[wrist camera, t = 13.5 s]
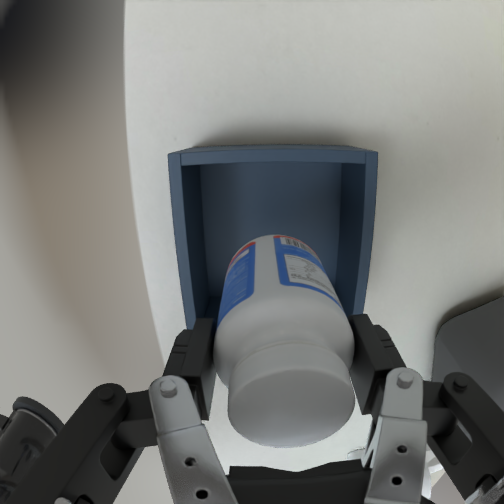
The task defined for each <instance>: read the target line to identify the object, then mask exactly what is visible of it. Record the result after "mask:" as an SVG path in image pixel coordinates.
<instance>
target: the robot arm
mask: <svg viewBox="0 0 504 504" xmlns="http://www.w3.org/2000/svg"><path fill="white" fill-rule="evenodd" d="M348 322H349V324H350V327H351V329H352V332H353V336H354V342H355V351H354V357H353V361H352V365H351V367H350V369H349V374H350V377H351V381H352V384H353V387H354V390H355V393H356V397H357V400H358V403H359V406H360V410H361V413H362V415H366V414H372V418H373V420H372V422H371V425H370V430H369V434H368V438H367V443H366V447H365V451H364V455H363V459H362V461H361V459H354V460H347V461H339V462H330V463H327V464H324V465H321V466H317V467H314V468H311V469H307V470H304V471H300V472H292V471H285V470H279V469H274V468H268V467H263V466H230V470H229V474H228V475H225V473H224V471H223V468H222V466H221V464H220V461H219V459H218V457H217V454H216V452H215V449H214V447H213V444H212V442H211V439H210V437H209V434H208V432H207V429H206V427H205V425H204V424H202V421H201V420H208V421H209V416H210V409H211V403H212V397H213V390H214V384H215V378H216V372H217V371H216V368H215V365H214V359H213V347H214V338H215V333H216V322H215V318H196V321H195V324H194V327H193V330H190V329H184V330H183V331H182V332H181V333H180V334H179V335H178V336H177V337H176V339H175V342H174V346H173V348H172V350H171V353H170V356H169V359H168V362H167V364H166V367H165V370H164V373H163V376H162V377H160V378H158V379H156V380H155V381H153V382H152V383H151V385H150V387H149V389H148V390H145V391H140V392H133V393H126V391H125V390H124V388H123V387H122V386H120V385H118V384H114V383H107V384H103V385H100V386H98V387H96V388H95V389H94V390H93V391H92V392H91V393H90V394H89V395H88V397H87V398H86V399H85V400H84V401H83V403H82V404H81V405H80V406H79V408H78V409H77V410H76V411H75V413H74V414H73V415H72V416H71V417H70V419H69V420H68V421H67V422H66V424H65V425H64V426H63V427H62V429H61V430H60V431H59V432H58V433H57V431H56V430H55V429H54V427H53V426H52V425H51V424H50V423H49V422H48V421H47V420H45V419H44V418H43V417H42V416H40V415H39V414H37V413H36V412H34V411H32V410H30V409H27V408H23V407H21V408H19V409H14V411H13V412H12V414H11V415H10V417H9V418H8V417H6V416H4V415H1V414H0V504H113V502H114V500H115V499H116V497H117V495H118V493H119V492H120V490H121V488H122V486H123V485H124V483H125V481H126V479H127V478H128V476H129V474H130V472H131V471H132V469H133V467H134V465H135V463H136V462H137V460H138V458H139V457H140V455H141V453H142V451H143V450H144V448H145V447H148V446H156V445H158V447H159V451H160V455H161V459H162V463H163V467H164V471H165V474H166V478H167V482H168V485H169V489H170V492H171V495H172V499H173V502H174V504H435V503H434V502H432V501H430V500H429V499H427V498H426V497H424V496H423V495H421V494H422V486H423V478H424V469H425V458H426V445H427V444H428V446H429V447H430V449H431V450H432V452H433V453H434V455H435V456H436V458H437V459H438V461H439V462H440V464H441V465H442V467H443V468H444V470H445V471H446V473H447V474H448V476H449V477H450V479H451V480H452V482H453V483H454V485H455V486H456V488H457V489H458V491H459V492H460V494H461V495H462V497H463V499H464V500H465V503H464V504H504V411H503V410H502V409H501V408H500V407H499V406H498V405H497V404H496V403H495V402H494V401H493V399H492V398H491V397H490V396H489V395H488V394H487V393H486V392H485V391H484V390H483V389H482V388H481V387H480V386H479V385H478V383H477V382H476V381H475V380H474V379H473V378H472V377H471V376H469V375H467V374H465V373H462V372H452V373H449V374H447V375H446V376H445V378H444V380H443V382H431V381H424V380H423V379H422V377H421V375H420V374H419V373H418V372H416V371H415V370H413V369H410V368H407V367H406V365H405V363H404V361H403V360H402V358H401V356H400V354H399V352H398V350H397V348H396V347H395V345H394V343H393V341H391V337H390V336H389V334H388V332H387V331H386V330H385V329H384V328H382V327H381V326H380V325H373V324H372V322H371V320H370V318H369V317H368V315H367V314H356V315H349V317H348ZM459 422H460V423H461V424H462V425H463V427H464V428H465V429H466V431H467V432H468V433H469V434H470V436H471V440H472V443H471V441H470V440H469V439H468V437H467V436H466V435H465V434H464V432H463V431H462V430H461V428H460V427H459V426H458V425H457V424H458V423H459Z"/></svg>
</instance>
